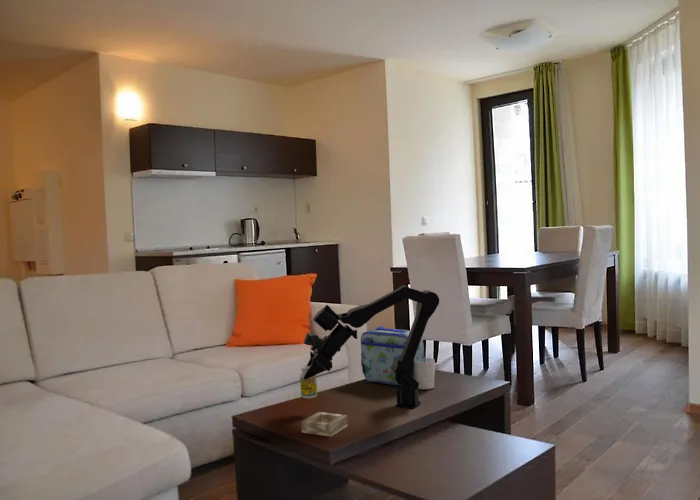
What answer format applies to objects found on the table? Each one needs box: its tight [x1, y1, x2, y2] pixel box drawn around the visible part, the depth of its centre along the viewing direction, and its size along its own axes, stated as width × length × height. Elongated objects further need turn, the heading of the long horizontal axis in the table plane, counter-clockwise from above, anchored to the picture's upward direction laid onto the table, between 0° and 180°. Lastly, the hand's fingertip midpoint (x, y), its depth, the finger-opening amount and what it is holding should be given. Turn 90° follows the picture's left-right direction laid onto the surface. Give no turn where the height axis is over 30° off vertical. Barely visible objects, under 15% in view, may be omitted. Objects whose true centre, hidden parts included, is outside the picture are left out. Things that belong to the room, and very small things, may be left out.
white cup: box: [415, 357, 436, 390], centre depth 224 cm, size 8×8×10 cm
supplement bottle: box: [299, 365, 318, 399], centre depth 198 cm, size 5×5×10 cm
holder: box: [301, 411, 348, 437], centre depth 182 cm, size 10×10×3 cm
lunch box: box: [360, 325, 426, 387], centre depth 232 cm, size 26×11×21 cm, turn 46°
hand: (303, 376), depth 198 cm, fingers closed on supplement bottle, 5 cm apart
